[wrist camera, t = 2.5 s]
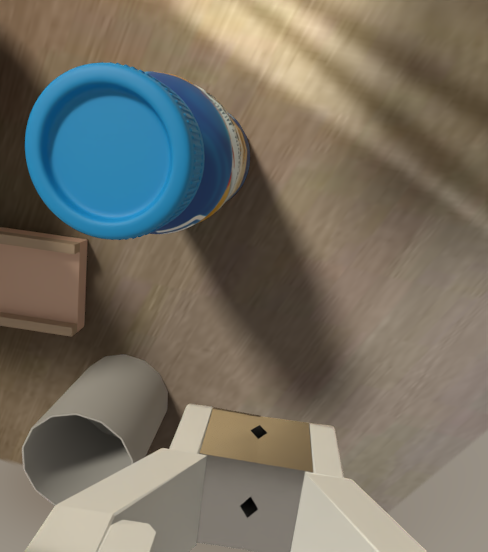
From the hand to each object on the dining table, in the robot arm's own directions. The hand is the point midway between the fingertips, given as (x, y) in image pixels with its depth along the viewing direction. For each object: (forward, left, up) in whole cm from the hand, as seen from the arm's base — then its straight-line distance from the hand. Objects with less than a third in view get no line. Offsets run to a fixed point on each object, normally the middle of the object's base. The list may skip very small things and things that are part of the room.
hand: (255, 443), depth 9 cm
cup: (+17, -12, -29) cm, 36 cm away
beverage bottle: (-5, -7, -29) cm, 31 cm away
